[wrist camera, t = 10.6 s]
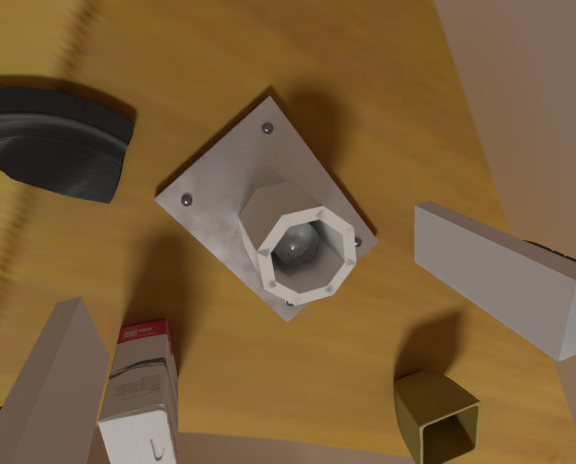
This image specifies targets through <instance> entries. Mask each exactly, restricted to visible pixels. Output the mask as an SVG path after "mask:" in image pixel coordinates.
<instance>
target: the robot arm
mask: <svg viewBox="0 0 576 464" xmlns="http://www.w3.org/2000/svg"><path fill="white" fill-rule="evenodd" d="M415 262H416V263H417V264H418V265H420V266H421V267H423V268H424V269H426V270H427V271H428V272H430V273H431V274H433V275H434V276H436V277H437V278H439V279H440V280H441V281H443V282H444V283H446V284H447V285H449V286H450V287H451V288H453V289H454V290H456V291H457V292H459V293H460V294H461V295H463V296H464V297H466V298H467V299H469V300H470V301H472V302H473V303H474V304H476V305H477V306H479V307H480V308H482V309H483V310H484V311H486V312H487V313H489V314H490V315H492V316H493V317H494V318H496V319H497V320H499V321H500V322H502V323H503V324H505V325H506V326H507V327H509V328H510V329H512V330H513V331H515V332H516V333H517V334H519V335H520V336H522V337H523V338H525V339H526V340H527V341H529V342H530V343H532V344H533V345H535V346H536V347H538V348H539V349H540V350H542V351H543V352H545V353H546V354H548V355H549V356H550V357H552V358H553V359H555V360H556V361H558V362H559V361H562V360H564V359H566V358H569V357H571V356H573V355H576V259H574V258H571V257H568V256H566V257H565V256H564V254H561V253H559V252H557V251H552V250H551V249H549V248H547V247H545V246H542V245H540V244H537V243H534V242H530V241H525V240H521V239H519V238H517V237H514V236H512V235H510V234H507V233H505V232H502V231H500V230H498V229H495V228H493V227H491V226H488V225H486V224H483V223H481V222H479V221H476V220H474V219H472V218H469V217H467V216H465V215H462V214H460V213H457V212H455V211H453V210H450V209H448V208H446V207H443V206H441V205H439V204H436V203H434V202H431V201H429V202H425V203H421V204H418V205H415ZM109 360H110V357H109V354H108V352H107V350H106V348H105V346H104V344H103V342H102V340H101V338H100V335H99V333H98V331H97V329H96V327H95V325H94V323H93V321H92V318H91V316H90V314H89V312H88V310H87V308H86V306H85V304H84V302H83V299H82V297H78V298H74V299H71V300H67V301H63V302H60V303H57V304H56V306H55V307H54V309H53V311H52V313H51V315H50V317H49V319H48V321H47V323H46V325H45V326H44V328H43V330H42V332H41V334H40V336H39V338H38V340H37V342H36V344H35V345H34V347H33V349H32V351H31V353H30V355H29V357H28V359H27V361H26V362H25V364H24V366H23V368H22V370H21V372H20V374H19V376H18V378H17V380H16V381H15V383H14V385H13V387H12V389H11V391H10V393H9V395H8V397H7V398H6V400H5V402H4V404H3V406H1V407H0V464H87V460H88V455H89V450H90V445H91V441H92V436H93V432H94V428H95V423H96V419H97V414H98V410H99V405H100V401H101V396H102V392H103V387H104V382H105V378H106V373H107V369H108V364H109Z"/></svg>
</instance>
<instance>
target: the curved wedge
mask: <svg viewBox="0 0 576 464" xmlns="http://www.w3.org/2000/svg"><path fill="white" fill-rule="evenodd" d="M133 125H134V123H133V122H132V121H131V120H129V119H127V118H125V117H123V116H121V115H119V114H117V113H115V112H113V111H111V110H109V109H107V108H105V107H103V106H100V105H98V104H96V103H93V102H90V101H88V100H85V99H82V98H78V97H75V96H72V95H68V94H64V93H59V92H55V91H49V90H43V89H34V88H12V87H10V88H8V87H7V88H0V170H1V171H2V172H4V173H5V174H6V175H8V176H9V177H10V178H12V179H14V180H16V181H20V182H23V183H26V184H29V185H32V186H35V187H38V188H42V189H45V190H49V191H52V192H55V193H59V194H62V195H66V196H70V197H75V198H80V199H85V200H91V201H97V202H102V203H107V204H109V203H110V201H111V200H112V198H113V196H114V193H115V191H116V189H117V186H118V183H119V180H120V175H121V171H122V165H123V160H124V153H125V150H126V148H127V146H128V145H129V142H130V140H131V138H132V135H133Z"/></svg>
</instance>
